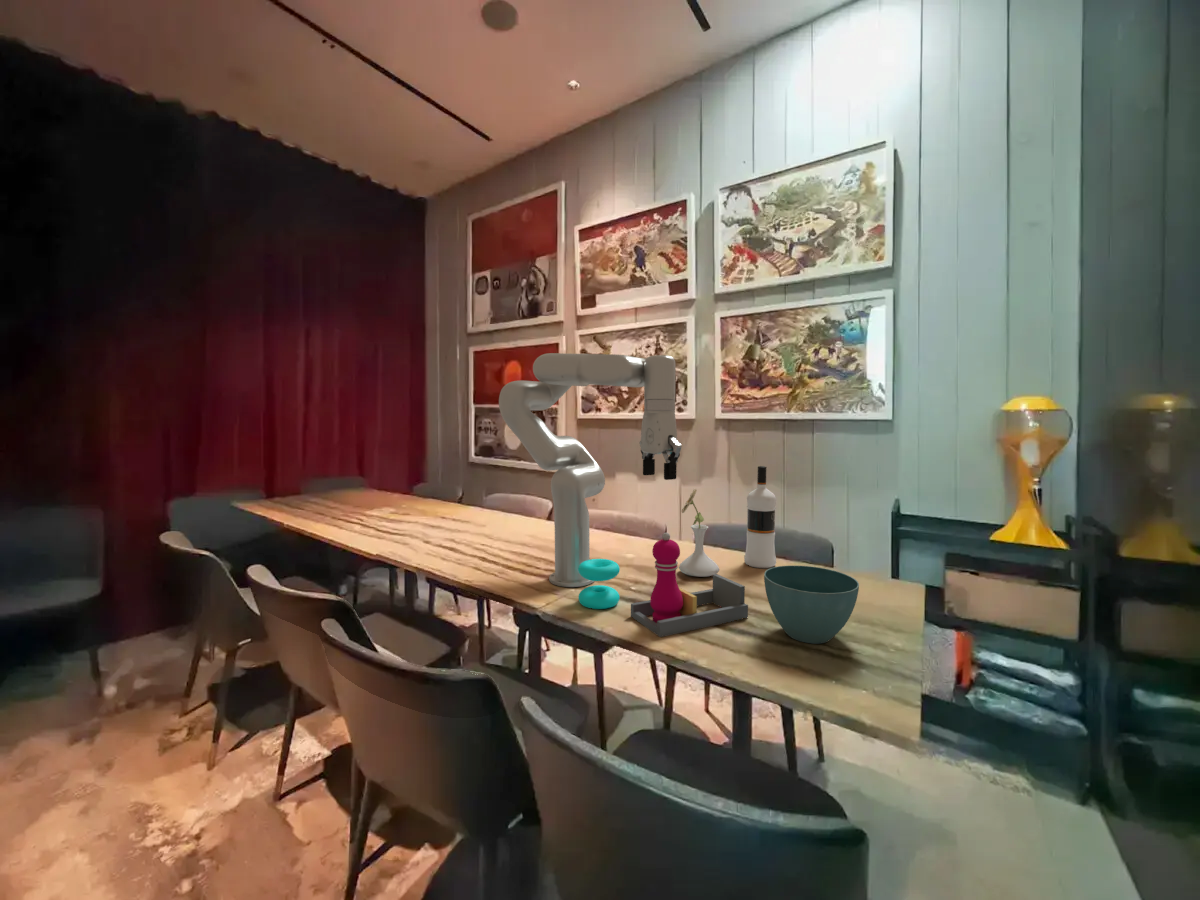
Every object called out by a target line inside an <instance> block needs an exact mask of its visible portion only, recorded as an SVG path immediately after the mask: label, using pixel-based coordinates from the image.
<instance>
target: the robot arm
mask: <svg viewBox="0 0 1200 900" xmlns="http://www.w3.org/2000/svg"><path fill="white" fill-rule="evenodd" d="M676 370H677V369H676V360H675V358H674V357H673V356H671V355H663V354H662V355H661V354H659V355H651V356H648V357H645V358H643V357H638V356H637V357H636V356H633V355H632V356H631V355H627V354H626V355H625V354H615V353H614V354H610V353H609V354H606V353H604V354H603V353H602V354H601V353H592V354H591V353H563V352H562V353H557V352H556V353H555V352H554V353H553V352H551V353H549V352H548V353H544V354H541V355H539V356H538V357H536V358H535V360H534V362H533V364H532V372H533V375H534V377H535V378H536V379H537V380H538V381H537V380H536V381H535V380H533V381H532V380H523V379H521V380H514V381H510V382H507V384H506V383H505V385H504V386H502V388H501V390H500V392H499V397H498V408H499V412H500V415H501V417H502V420H503V421H504V423H505V424H506V426H507V427H508V428H509V429H510V430H511V432H512V433H513V434H514V435H515V436H516V438H517V439H518V440H519V442H520V443H521V444H522V445H523V447H524V448H525V449H526V451H527V452H528V454H529V455H530V456H531V458H532V459H533V460H534V461H535V463H536V464H537V465H538V466H539V468H540V469H542V470H543V471H555V473H553V475H552V477H551V479H550V491H551V498H552V502H553V512H554V513H553V515H554V516H553V517H554V520H553V521H554V524H553V525H554V572H552V573H551V574H550V575H549V577H548V578H549V583H550V584H552V585H555V586H558V587H563V588H579V587H584V586H589V585H591V584H593V583H594V582H595V581H592V580H588V579H585V578H583V577H582V576H581V575H580V574H579V571H578V568H579V565H580V564H581V563H582V562H584V561H586V560H590V558H591V557H590V512H589V508H588V505H587V502H586V499H587V498H590V497H595V496H597V495H599V494H600V493H601V492H602V491H603V490H604V488H605V485H606V476H605V474H604V471H603V470H602V467H600V464H598V463H597V461H596V459H594V457H593V456H592V455H591V453H590V452H589V450H587V448H585V446H584V445H583V444H582V442H581V441H579V440H578V439H577V438H575V437H573V436H570V435H556V434H554V433H553V432H552V431H551V430H550V428H549V427H548V426H547V425H546V423H545V422H544V421H543V420H542V419H541V418H540V417H538V416H537V415H536V414H534V413H533V412H532V411H545V410H548V409H549V408H552V407H553V406H554V405H555V404H556V403H557V402H558V401H559V400H560V399H561V398H562V396H564V395H565V394H566V393H567V392H568V391H569V390H570V389H571V388H572V387H573V386H574V387H575V386H576V387H588V386H589V385H593V386H594V385H595V386H596V385H597V386H608V387H609V386H611V387H624V388H625V387H627V388H628V387H629V388H643V391H644V392H643V397H644V398H643V408H644V409H643V410H644V411H643V415H642V421H641V428H640V429H641V430H640V441H639V446H640V447H639V448H640V452H641V459H642V475H643V476H654V475H656V474H655V471H656V464H655V463H656V462H655V461H656V459H655V458H654V457H655V455H662V456H663V458H664V461H665V462H663V479H664V480H665V481H669V480H671V481H673V480H676V479H677V467H678V466H677V465H678V464H677V463H678V462H679V457H680V455H681V454H680V452H681V451H682V447H683V446H682V444H681V443H680V442H679V441H678V432H677V431H678V430H677V421H676Z"/></svg>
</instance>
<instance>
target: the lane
mask: <svg viewBox="0 0 1200 900" xmlns="http://www.w3.org/2000/svg"><path fill="white" fill-rule="evenodd" d="M745 588H746V586H745V585H743V584H741V583H739V582H736V581H734V580H732V579H729V578H727V577H724V576H723V575H720V574H718V573H717V574H714V575H712V588H709V589H706V590H705V589H704V590H700V591H693V592H690V593H691V594H693V595H695V596H697V605H700V606H703V605H702V604H705V605H708V604H707V603H710V604H713V603H715V604H716V606H717V605H719V606H721V607H722V608H721V607H719V606H718V607H719V608H715V609H711V610H704V611H699V612H697V613H694V614H689V615H684V616H679V617H674V618H669V619H664V620H659V621H657V623H655V622H654V621H653V619H651V618H649V617H648V616H653V612H654V610H653V609H652V607H651V605H650V600H644V601H643V600H642V601H638V602H637V601H636V602H632V603H630V617H631V618H632V617H633V618H632V619H634V620H635V621H636V620H637V622H638V623H639V622H640V624H641V625H642V626H644V627H645V628H646V629H648V630H650V632H651V633H653V634H655V635H656V636H658V637H659V638H661V637H667V636H671V635H676V634H680V633H685V632H690V630H691V631H695V630H700V629H704V628H708V627H713V626H717V625H722V623H723V624H726V622H728V623H731V621H732V622H735V621H734V620H737V621H739V620H738V619H741V620H743V619H742V618H746V619H748V618H749V605H748V604H747V603H745V601H746V600H745V599H746V598H745V594H746V591H745V590H746V589H745ZM712 602H713V603H712ZM715 604H714V605H715ZM747 617H748V618H747ZM699 628H700V629H699Z"/></svg>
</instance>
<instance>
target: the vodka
mask: <svg viewBox="0 0 1200 900" xmlns="http://www.w3.org/2000/svg"><path fill="white" fill-rule="evenodd" d="M756 477H757V479H756V480H757V481H756V482H757V483H756V485H757V486H756V488H755V489H753V490H752V491H750V492H749V493H748V494H747V496H746V502H747V503H746V509H747V511H746V512H747V516H746V517H747V519H746V522H747V524H746V526H747V527H746V547H745V555H743V556H744V557H743V558H744V559H743V560H744V562H745V563H744V564H745V565H747V566H748V565H749V567H751V568H754V569H755V568H756V569H770V568H773V567H776V564H777V557H776V549H775V546H776V545H775V538H776V537H775V536H776V532H775V531H776V529H775V528H776V527H775V526H776V523H775V522H776V509H777V507H776V505H777V497H776V495H775V493H773V492H772V491H771V490H769V489H768V488H767V466H765V465H760V466H757V476H756Z"/></svg>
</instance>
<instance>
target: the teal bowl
mask: <svg viewBox="0 0 1200 900" xmlns="http://www.w3.org/2000/svg"><path fill="white" fill-rule="evenodd" d="M763 579H764V580H763V581H764V587H765V592H766V593H765V594H766V597H767V601H768V604H769V607H770V609H771V611H772V613H773V614H772V615H774V617H775V620H776V621H777V623H778V624H779V625H780V627H781V629H783V631H784V632H785V633H786V634H787V636H789V637H790V638H792V639H794V640H795V641H798V642H801V643H802V642H803V643H806V644H812V645H813V644H824V643H828V642H829V641H830V640H832V639H833V638H834V637H835V636H837V634H838V633H839V632H840V631H841V630H843V628H844V627H845V625H846V624H847V623H848V621H849V619H850V617H851V615H852V614H853V611H854V609H855V606H856V602H857V599H858V595H859V591H860V590H859V589H860V588H859V587H860V583H859V581H858V580H857V579H856V578H854V577H852V576H850V575H848V574H846V573H843V572H840V571H837V570H833V569H829V568H825V567H820V566H819V567H818V566H817V567H816V566H809V565H779V566H773V567H771V568H767V569H766V570H764V575H763Z"/></svg>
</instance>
